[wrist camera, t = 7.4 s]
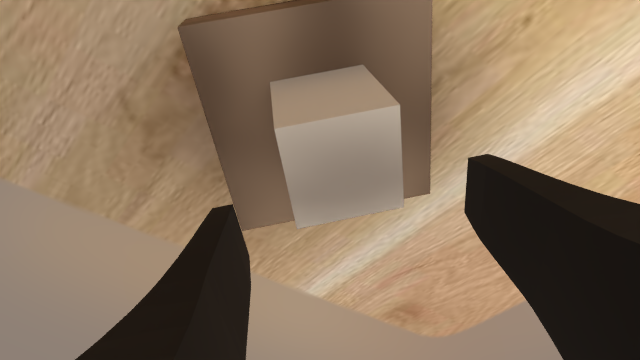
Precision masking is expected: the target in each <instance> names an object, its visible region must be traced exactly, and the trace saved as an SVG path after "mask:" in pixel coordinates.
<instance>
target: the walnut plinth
mask: <svg viewBox="0 0 640 360" xmlns="http://www.w3.org/2000/svg"><path fill="white" fill-rule="evenodd" d="M178 31H179V34H180V37H181V40H182V43H183V46H184V49H185V53H186V56H187V59H188V62H189V65H190V68H191V71H192V75H193V78H194V81H195V84H196V87H197V90H198V93H199V97H200V100H201V103H202V106H203V109H204V112H205V116H206V119H207V122H208V125H209V128H210V131H211V134H212V138H213V141H214V144H215V147H216V150H217V153H218V156H219V160H220V163H221V166H222V169H223V172H224V175H225V179H226V182H227V185H228V188H229V191H230V194H231V197H232V201H233V204H234V207H235V210H236V213H237V216H238V219H239V223H240V226H241V229H242V231H244V230H249V229H254V228H259V227H264V226H269V225H274V224H279V223H284V222H289V221H294V220H295V218H294V214H293V209H292V205H291V201H290V196H289V192H288V187H287V183H286V179H285V174H284V170H283V165H282V161H281V157H280V152H279V148H278V143H277V139H276V135H275V130H274V121H273V111H272V100H271V89H270V82H273V81H278V80H284V79H289V78H294V77H300V76H305V75H310V74H316V73H321V72H326V71H332V70H337V69H342V68H348V67H353V66H358V65H364V66H365V67H366V69H367V70H368V71H369V72H370V73H371V74H372V75H373V76H374V77H375V78H376V79H377V80H378V81H379V83H380V84H381V85H382V86H383V87H384V88H385V89H386V90H387V91H388V92H389V93H390V94H391V96H392V97H393V98H394V99H395V100H396V101H397V102H398V103H399V104H400V117H401V143H402V169H403V195H404V199H405V198H410V197H415V196H420V195H425V194H430V156H431V71H432V0H294V1H288V2H283V3H277V4H271V5H265V6H260V7H254V8H248V9H242V10H236V11H231V12H225V13H219V14H213V15H207V16H202V17H196V18H190V19H186V20H184V21H183V22H182V23H181V24H180V25H179V26H178Z"/></svg>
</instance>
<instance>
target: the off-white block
mask: <svg viewBox="0 0 640 360" xmlns="http://www.w3.org/2000/svg"><path fill="white" fill-rule="evenodd" d="M270 89H271V100H272V111H273V121H274V130H275V135H276V139H277V143H278V148H279V152H280V157H281V161H282V165H283V170H284V174H285V179H286V183H287V187H288V192H289V196H290V201H291V205H292V209H293V214H294V218H295V222H296V227H297V229H300V228H305V227H310V226H315V225H320V224H325V223H330V222H335V221H340V220H344V219H349V218H354V217H359V216H364V215H369V214H374V213H379V212H384V211H388V210H393V209H398V208H403V207H404V195H403V169H402V143H401V117H400V104H399V103H398V102H397V101H396V100H395V99H394V98H393V97H392V96H391V94H390V93H389V92H388V91H387V90H386V89H385V88H384V87H383V86H382V85H381V84H380V83H379V81H378V80H377V79H376V78H375V77H374V76H373V75H372V74H371V73H370V72H369V71H368V70H367V69H366V67H365V66H364V65H358V66H353V67H348V68H342V69H337V70H332V71H326V72H321V73H316V74H310V75H305V76H300V77H294V78H289V79H284V80H278V81H273V82H270Z"/></svg>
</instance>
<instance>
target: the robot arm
mask: <svg viewBox="0 0 640 360" xmlns="http://www.w3.org/2000/svg"><path fill="white" fill-rule="evenodd" d="M464 212H465V214H466V216H467V218H468V219H469V221H470V223H471V225H472V227H473V229H474V230H475V232H476V234H477V235H478V237H479V239H480V240H481V241H482V243H483V244H484V245H485V247H486V248H487V249H488V251H489V252H490V253H491V255H492V256H493V257H494V259H495V260H496V261H497V262H498V264H499V265H500V266H501V267H502V269H503V270H504V271H505V273H506V274H507V275H508V276H509V278H510V279H511V280H512V282H513V283H514V284H515V285H516V287H517V288H518V289H519V291H520V292H521V293H522V294H523V296H524V297H525V299H526V300H527V301H528V303H529V304H530V306H531V307H532V308H533V310H534V312H535V313H536V315H537V316H538V318H539V320H540V321H541V323H542V324H543V326H544V328H545V329H546V331H547V332H548V334H549V336H550V337H551V339H552V341H553V342H554V344H555V346H556V347H557V349H558V351H559V353H560V354H561V356H562V358H563V359H564V360H640V204H637V203H633V202H629V201H626V200H622V199H618V198H614V197H611V196H607V195H604V194H600V193H597V192H594V191H591V190H588V189H585V188H582V187H578V186H575V185H572V184H570V183H567V182H564V181H561V180H558V179H555V178H553V177H550V176H547V175H545V174H542V173H539V172H537V171H534V170H532V169H529V168H526V167H524V166H521V165H519V164H516V163H513V162H511V161H508V160H505V159H502V158H499V157H496V156H493V155H489V154H485V155H480V156H475V157H470V158H468V169H467V183H466V197H465V211H464ZM250 292H251V278H250V260H249V254H248V250H247V247H246V244H245V241H244V238H243V235H242V232H241V228H240V225H239V222H238V219H237V216H236V213H235V210H234V207H233V204H232V205H227V206H222V207H217V208H212V210H211V211H210V212H209V214H208V215H207V217H206V218H205V219H204V221H203V222H202V224H201V225H200V227H199V228H198V230H197V231H196V233H195V234H194V236H193V237H192V239H191V240H190V241H189V243H188V244H187V246H186V247H185V248H184V250H183V251H182V252H181V254H180V255H179V257H178V258H177V259H176V260H175V262H174V263H173V264H172V266H171V267H170V268H169V269H168V270H167V272H166V273H165V274H164V276H163V277H162V278H161V279H160V280H159V281H158V283H157V284H156V285H155V286H154V287H153V288H152V290H151V291H150V292H149V293H148V294H147V295H146V296H145V297H144V298H143V299H142V300H141V301H140V302H139V303H138V304H137V305H136V306H135V307H134V308H133V309H132V310H131V311H130V312H129V313H128V314H127V315H126V316H125V317H124V318H123V319H122V320H120V321H119V323H117V324H116V325H115V326H114V327H113V328H112V329H111V330H109V331H108V332H107V333H106V334H105V335H104V336H103V337H102V338H101V339H100V340H98V341H97V342H96V343H95V344H94V345H93V346H91V347H90V348H89V349H88V350H86V351H85V352H84V353H83V354H82V355H80V356H79V357H78V358H77V359H75V360H246V346H247V332H248V320H249V307H250Z"/></svg>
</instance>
